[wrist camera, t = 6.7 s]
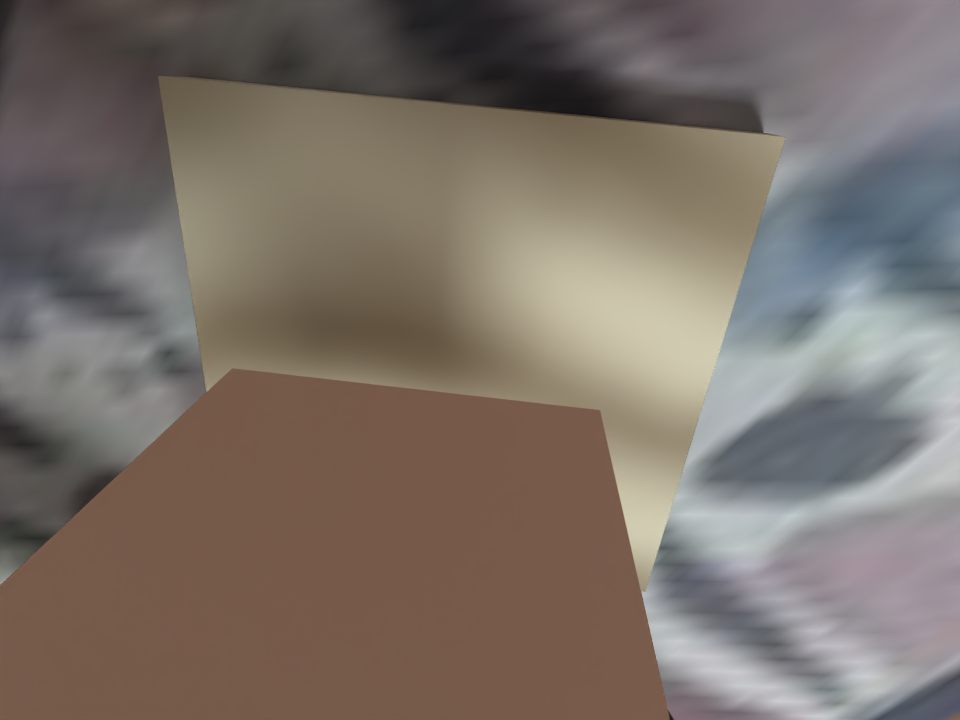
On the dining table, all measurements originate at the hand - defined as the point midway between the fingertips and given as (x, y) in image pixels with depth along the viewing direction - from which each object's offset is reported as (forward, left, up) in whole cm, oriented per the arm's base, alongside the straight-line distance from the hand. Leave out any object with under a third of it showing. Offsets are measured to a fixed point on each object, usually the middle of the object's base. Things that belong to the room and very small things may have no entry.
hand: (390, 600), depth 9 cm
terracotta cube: (0, 0, -2) cm, 2 cm away
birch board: (0, 0, -8) cm, 8 cm away
